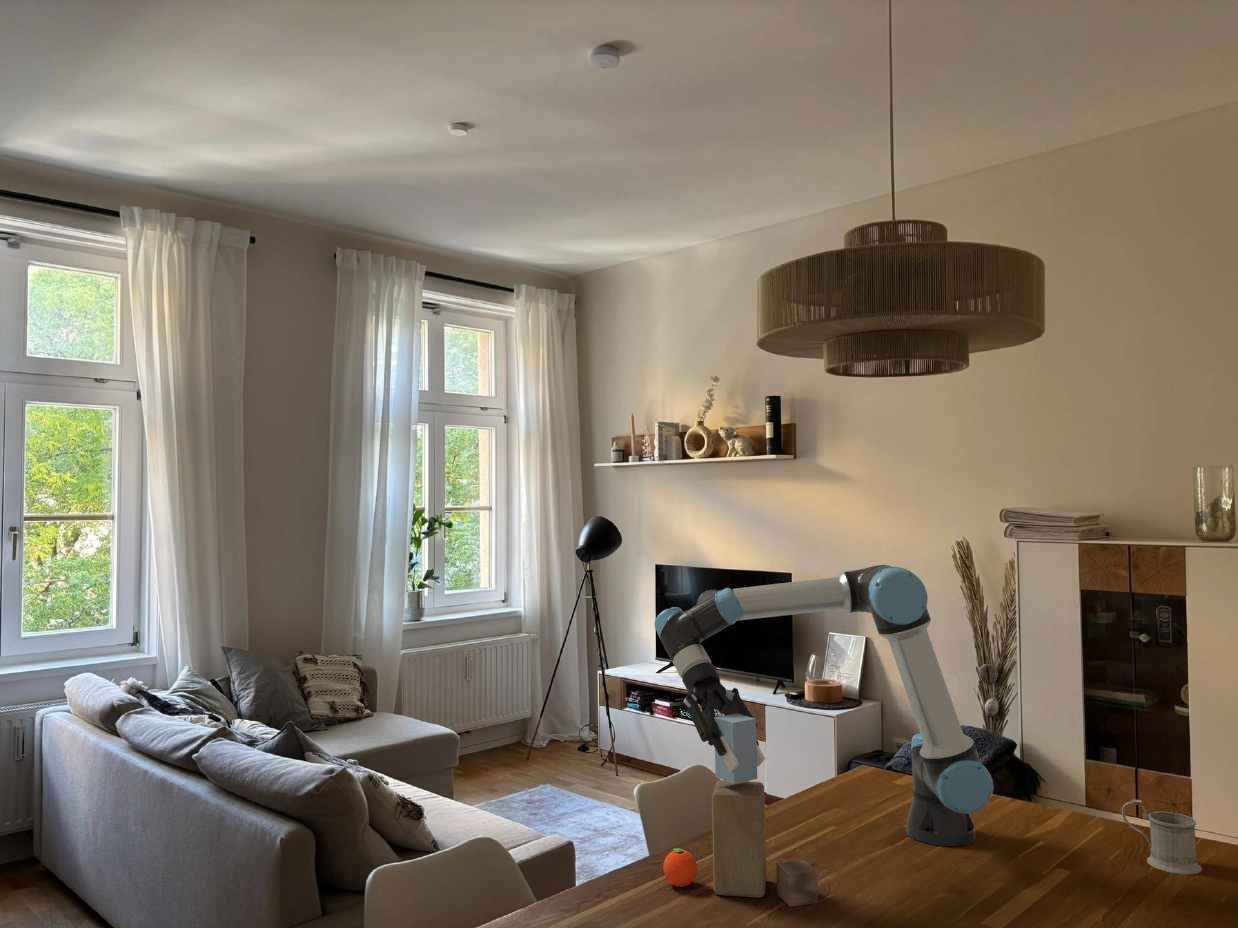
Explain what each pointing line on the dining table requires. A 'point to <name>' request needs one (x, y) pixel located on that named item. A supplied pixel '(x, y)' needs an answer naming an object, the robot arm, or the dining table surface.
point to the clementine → (680, 867)
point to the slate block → (738, 748)
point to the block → (739, 839)
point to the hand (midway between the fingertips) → (747, 765)
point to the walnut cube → (797, 882)
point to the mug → (1170, 841)
